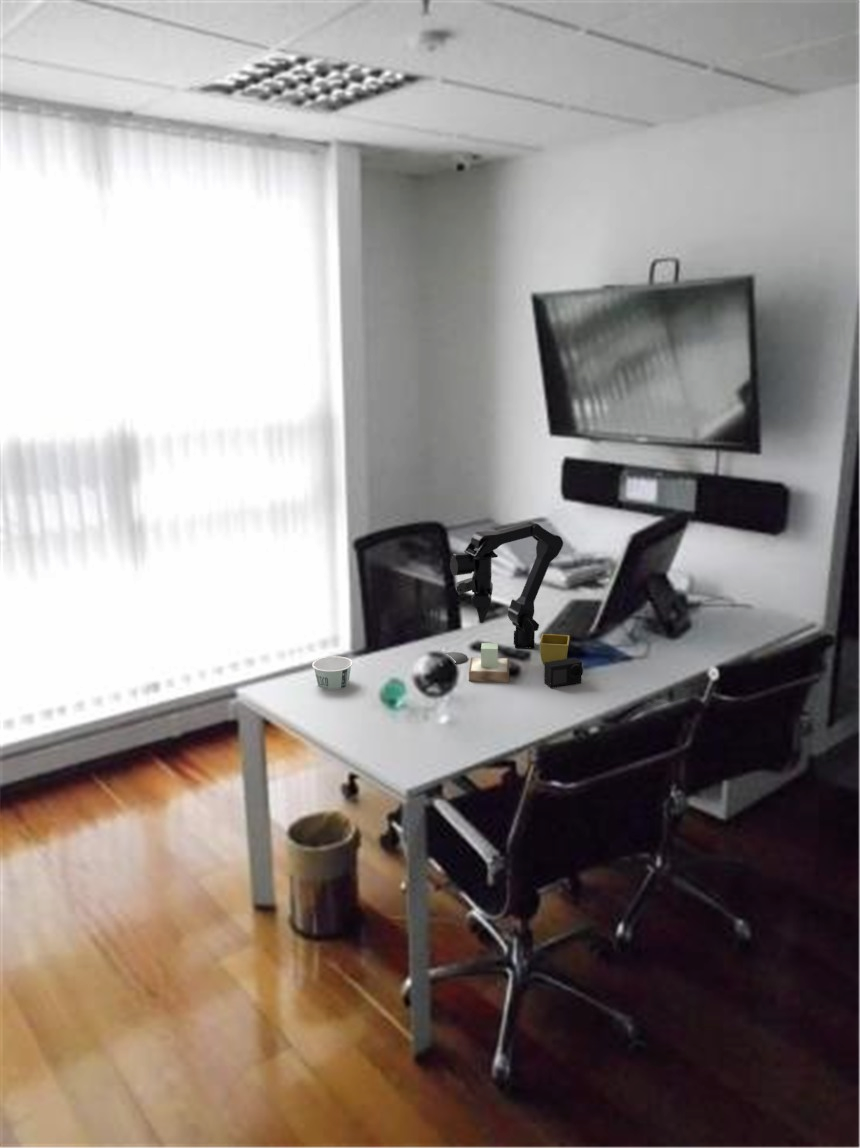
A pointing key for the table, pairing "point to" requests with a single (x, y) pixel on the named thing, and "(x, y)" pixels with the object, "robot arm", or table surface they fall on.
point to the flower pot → (553, 647)
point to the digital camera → (563, 673)
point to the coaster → (458, 657)
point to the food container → (332, 672)
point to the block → (489, 655)
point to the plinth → (489, 671)
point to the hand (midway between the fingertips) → (482, 618)
